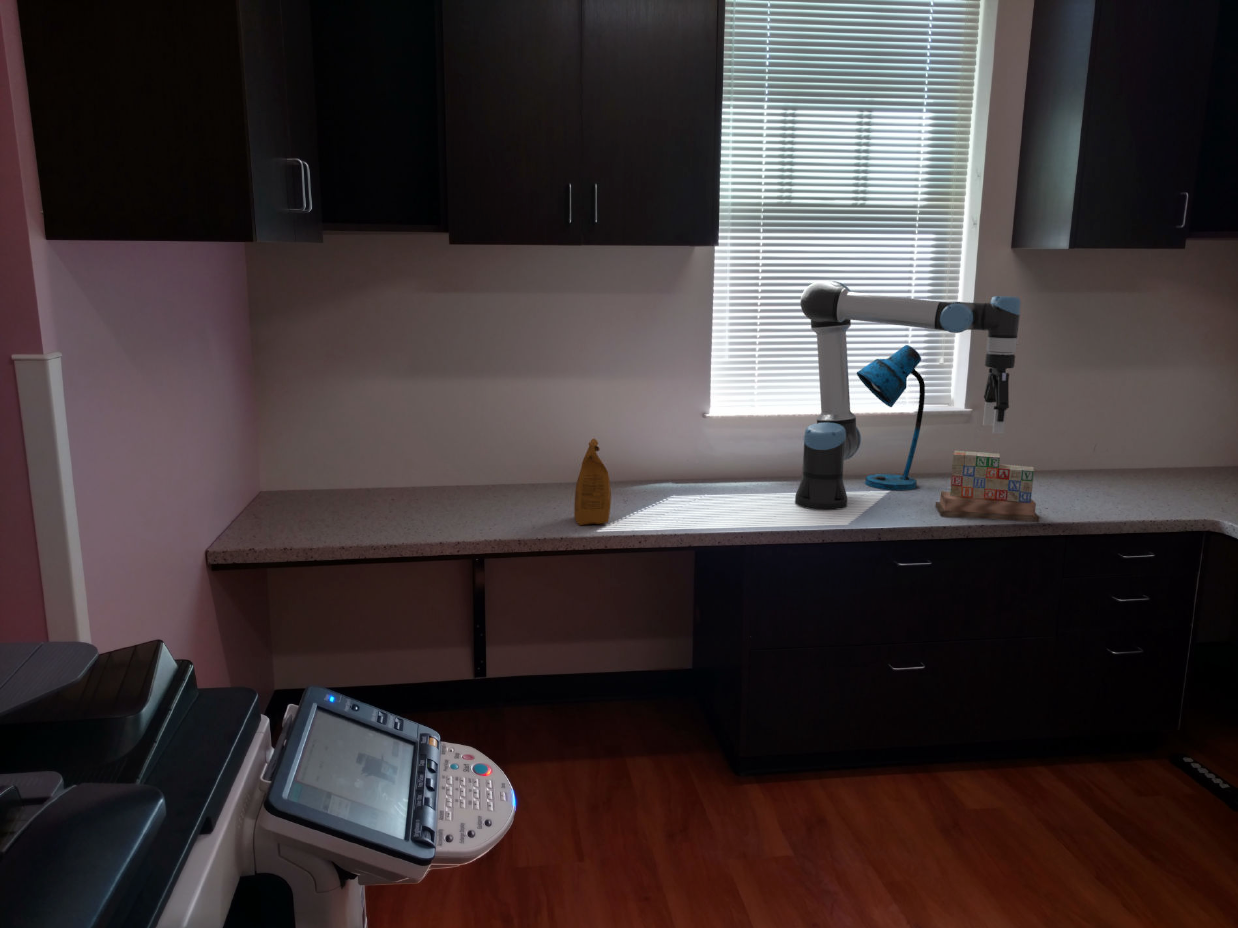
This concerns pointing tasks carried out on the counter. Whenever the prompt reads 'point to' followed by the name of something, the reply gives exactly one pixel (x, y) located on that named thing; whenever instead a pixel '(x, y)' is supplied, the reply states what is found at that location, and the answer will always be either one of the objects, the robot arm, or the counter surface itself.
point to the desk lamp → (888, 386)
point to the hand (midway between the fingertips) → (992, 429)
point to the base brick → (985, 508)
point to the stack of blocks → (989, 478)
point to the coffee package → (592, 489)
